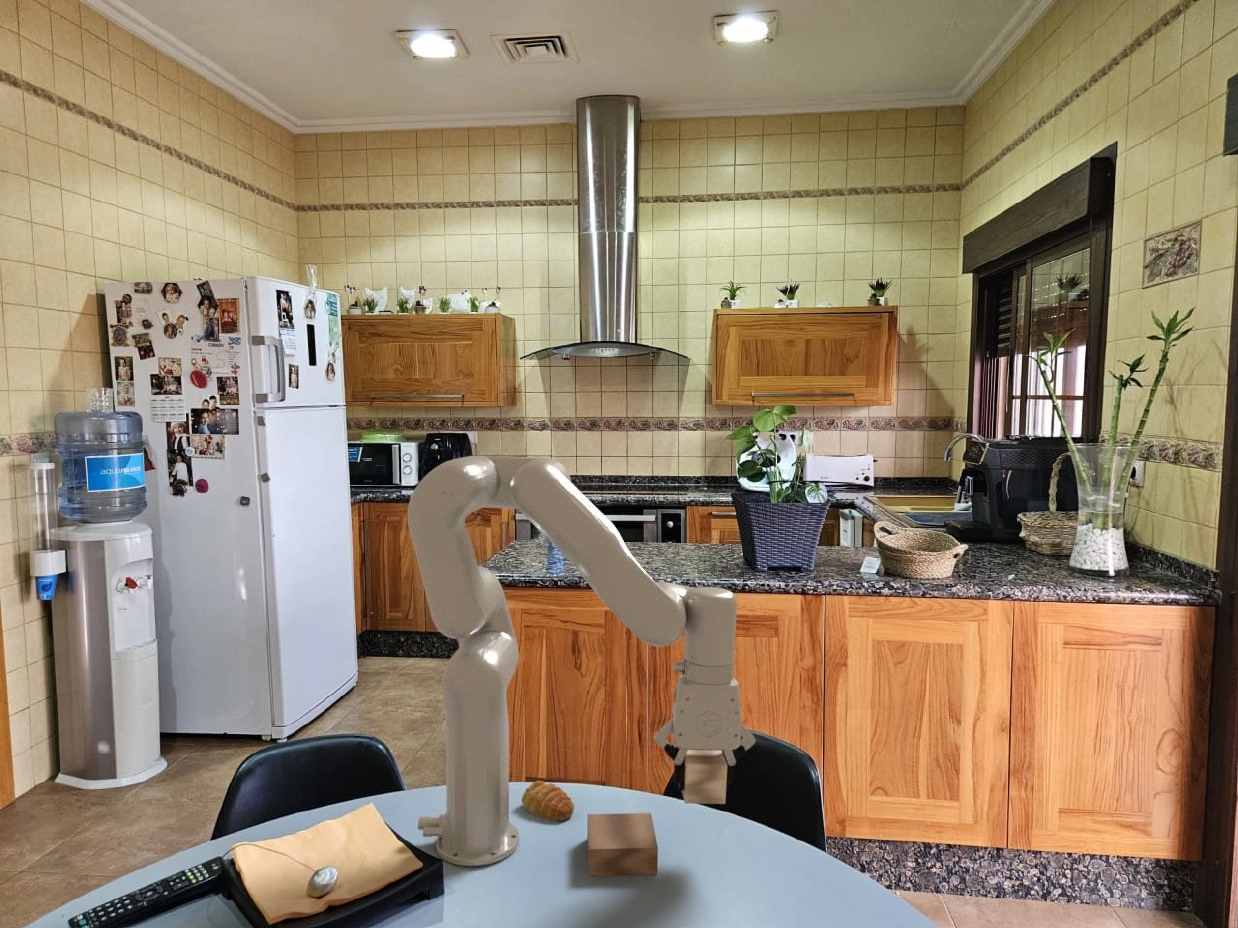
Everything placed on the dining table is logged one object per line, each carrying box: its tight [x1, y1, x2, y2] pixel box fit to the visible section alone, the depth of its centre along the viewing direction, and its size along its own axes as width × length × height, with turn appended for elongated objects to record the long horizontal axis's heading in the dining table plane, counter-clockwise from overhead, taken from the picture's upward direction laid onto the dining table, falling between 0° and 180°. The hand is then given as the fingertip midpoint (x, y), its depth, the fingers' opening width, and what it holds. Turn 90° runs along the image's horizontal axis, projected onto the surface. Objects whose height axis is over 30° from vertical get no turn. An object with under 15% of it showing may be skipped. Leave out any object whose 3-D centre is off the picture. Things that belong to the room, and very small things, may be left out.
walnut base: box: [587, 812, 659, 877], centre depth 120 cm, size 10×10×4 cm
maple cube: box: [681, 750, 727, 805], centre depth 120 cm, size 6×6×6 cm
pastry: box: [521, 780, 575, 822], centre depth 134 cm, size 9×7×4 cm
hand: (702, 785), depth 120 cm, fingers closed on maple cube, 6 cm apart
